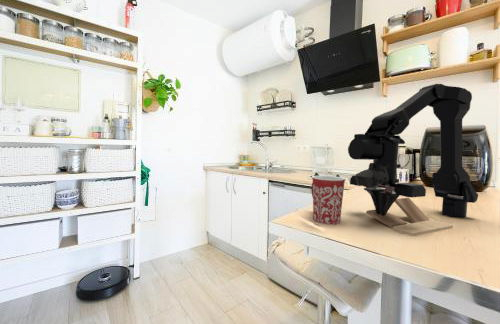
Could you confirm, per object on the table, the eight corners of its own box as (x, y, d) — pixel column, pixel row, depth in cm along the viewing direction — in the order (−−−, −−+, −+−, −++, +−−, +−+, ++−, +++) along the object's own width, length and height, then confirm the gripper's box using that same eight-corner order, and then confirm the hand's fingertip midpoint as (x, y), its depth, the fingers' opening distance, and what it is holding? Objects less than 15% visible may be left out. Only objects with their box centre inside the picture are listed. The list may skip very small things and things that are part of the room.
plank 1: (380, 211, 66) (381, 208, 66) (406, 225, 59) (407, 222, 59) (366, 213, 64) (366, 210, 64) (391, 227, 57) (392, 225, 56)
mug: (350, 228, 59) (352, 179, 58) (319, 230, 57) (321, 179, 56) (326, 214, 71) (328, 173, 70) (300, 215, 70) (301, 174, 69)
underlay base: (399, 216, 70) (399, 211, 70) (452, 232, 57) (452, 225, 57) (362, 221, 64) (362, 215, 64) (412, 240, 51) (412, 233, 51)
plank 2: (406, 199, 67) (408, 197, 67) (428, 221, 62) (430, 220, 61) (393, 200, 65) (395, 199, 65) (414, 224, 60) (416, 222, 59)
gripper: (337, 157, 66) (334, 207, 67) (398, 162, 49) (392, 230, 50) (365, 157, 70) (361, 205, 71) (429, 162, 53) (424, 225, 54)
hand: (380, 214), depth 61 cm, fingers closed
